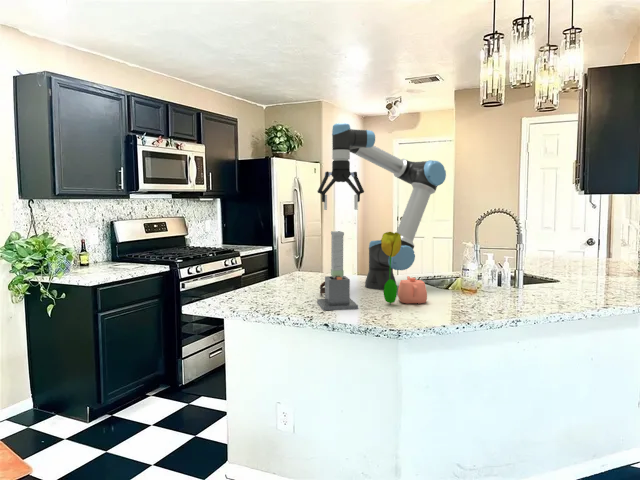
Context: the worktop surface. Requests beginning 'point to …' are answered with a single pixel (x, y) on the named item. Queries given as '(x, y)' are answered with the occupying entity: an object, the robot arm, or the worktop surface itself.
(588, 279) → the worktop surface
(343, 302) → the stand base
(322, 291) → the pottery mug
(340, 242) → the column
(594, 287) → the worktop surface
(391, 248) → the flower
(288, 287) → the worktop surface
